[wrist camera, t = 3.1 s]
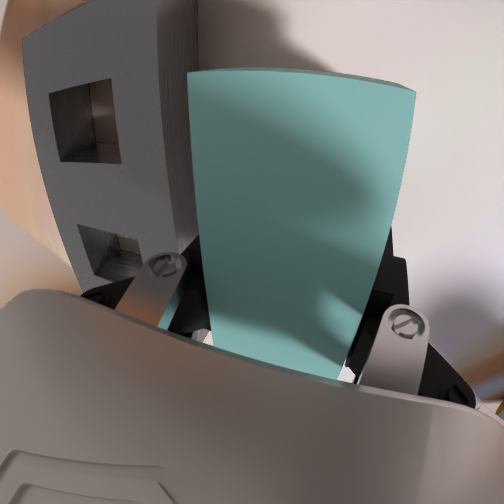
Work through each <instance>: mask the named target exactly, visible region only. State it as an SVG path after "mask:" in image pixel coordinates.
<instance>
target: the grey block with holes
mask: <svg viewBox="0 0 504 504" xmlns="http://www.w3.org/2000/svg"><path fill="white" fill-rule="evenodd" d="M22 45H23V63H24V75H25V85H26V94H27V102H28V109H29V115H30V121H31V127H32V132H33V137H34V142H35V147H36V152H37V156H38V161H39V165H40V169H41V173H42V177H43V181H44V184H45V188H46V192H47V195H48V199H49V202H50V205H51V208H52V212H53V215H54V218H55V221H56V224H57V227H58V230H59V233H60V236H61V239H62V241H63V244H64V247H65V249H66V252H67V255H68V257H69V260H70V262H71V265H72V268H73V270H74V272H75V275H76V277H77V280H78V282H79V284H80V287H81V289H82V291H83V293H84V292H86V291H87V290H89V289H92V288H95V287H98V286H102V285H106V284H109V283H113V282H117V281H120V280H124V279H128V278H131V277H135V276H136V275H137V273H138V272H139V270H140V269H141V267H142V266H143V264H144V263H145V262H146V261H147V260H148V259H149V258H150V257H152V256H154V255H156V254H159V253H164V252H174V253H179V254H181V253H182V252H183V251H184V250H185V249H186V248H187V247H188V245H189V244H190V243H191V242H192V241H193V240H194V239H195V238H196V237H197V235H198V234H199V228H198V218H197V208H196V198H195V187H194V175H193V163H192V150H191V136H190V120H189V102H188V81H187V73H188V72H196V71H198V46H197V0H93V1H91V2H89V3H86V4H84V5H82V6H80V7H78V8H76V9H74V10H72V11H70V12H68V13H66V14H64V15H62V16H60V17H58V18H57V19H55V20H53V21H51V22H49V23H48V24H46V25H44V26H42V27H41V28H39V29H37V30H36V31H34V32H33V33H31V34H29V35H28V36H26V37H25V38H23V39H22ZM109 78H111V81H112V92H113V102H114V111H115V120H116V128H117V135H118V142H119V144H96V139H95V132H94V126H93V119H92V111H91V103H90V94H89V85H88V83H91V82H95V81H100V80H105V79H109ZM116 234H120V235H124V236H128V237H132V238H136V239H137V241H138V245H139V249H140V253H141V256H139V255H135V254H132V253H128V252H125V251H121V250H120V247H119V243H118V240H117V236H116ZM209 331H210V330H206V329H201V330H199V333H198V337H197V340H196V341H199V342H203V341H204V339H205V337H206V336H207V334H208V332H209Z"/></svg>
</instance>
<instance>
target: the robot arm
mask: <svg viewBox="0 0 504 504" xmlns="http://www.w3.org/2000/svg"><path fill="white" fill-rule="evenodd" d="M201 329H206V330H210V331H211V324H210V317H209V310H208V303H207V295H206V288H205V280H204V272H203V264H202V255H201V246H200V237H199V234H198V235H197V237H196V238H195V239H194V240H193V241H192V242H191V243H190V244H189V245H188V247H187V248H186V249H185V250H184V251H183V252H182V253H181V254H179V253H174V252H164V253H159V254H156V255H154V256H152V257H150V258H149V259H148V260H147V261H146V262H145V263H144V264H143V266H142V267H141V269H140V270H139V272H138V273H137V275H136V276H135V277H131V278H128V279H124V280H120V281H117V282H113V283H109V284H106V285H102V286H98V287H95V288H92V289H89V290H87V291H86V292H84V293H83V294H82V295H81V296H78V295H75V294H72V293H68V292H64V291H60V290H54V289H30V290H26V291H23V292H21V293H20V294H18V295H17V296H15V297H14V298H13V299H12V300H10V301H9V302H8V303H7V304H6V305H5V306H4V307H2V308H1V310H0V504H504V420H502V419H501V418H500V417H499V416H497V415H496V414H495V413H493V412H492V411H491V410H490V409H488V408H487V407H486V406H485V405H483V404H481V405H480V406H478V405H477V404H476V399H475V395H474V393H473V391H472V389H471V388H470V386H469V385H468V384H467V383H466V382H465V381H464V380H463V378H462V377H461V376H460V375H459V374H458V373H457V372H456V371H455V370H454V369H453V368H452V367H451V366H450V365H449V363H448V362H447V361H446V360H445V359H444V358H443V357H442V356H441V355H440V354H439V353H438V352H437V351H436V350H435V349H434V348H433V347H432V346H431V345H430V344H429V343H428V340H429V333H430V325H429V322H428V320H427V318H426V317H425V316H424V314H423V313H421V312H420V311H419V310H418V309H416V308H414V307H412V306H409V291H408V278H407V266H406V260H405V259H404V258H400V257H395V256H393V243H392V229H391V227H390V231H389V234H388V238H387V242H386V245H385V249H384V252H383V255H382V259H381V262H380V265H379V269H378V272H377V275H376V278H375V281H374V284H373V287H372V290H371V293H370V296H369V299H368V302H367V305H366V308H365V310H364V313H363V316H362V319H361V321H360V324H359V327H358V329H357V332H356V334H355V337H354V340H353V342H352V345H351V347H350V350H349V352H348V355H347V358H346V363H345V367H349V368H350V369H351V370H352V372H353V373H354V374H355V377H354V379H353V381H352V383H348V382H344V381H339V380H334V379H330V378H326V377H321V376H317V375H313V374H309V373H305V372H301V371H297V370H293V369H289V368H286V367H282V366H278V365H274V364H271V363H267V362H264V361H260V360H257V359H253V358H250V357H246V356H243V355H240V354H236V353H233V352H230V351H227V350H224V349H220V348H217V347H214V346H211V345H208V344H205V343H202V342H199V341H196V340H197V337H198V333H199V330H201Z"/></svg>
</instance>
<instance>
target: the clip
mask: <svg viewBox="0 0 504 504" xmlns="http://www.w3.org/2000/svg"><path fill="white" fill-rule="evenodd" d="M187 81H188V102H189V120H190V136H191V150H192V163H193V175H194V187H195V198H196V208H197V218H198V228H199V237H200V246H201V255H202V264H203V272H204V280H205V288H206V295H207V303H208V310H209V317H210V324H211V331H212V338H213V344H214V347H217V348H220V349H224V350H227V351H230V352H233V353H236V354H240V355H243V356H246V357H250V358H253V359H257V360H260V361H264V362H267V363H271V364H274V365H278V366H282V367H286V368H289V369H293V370H297V371H301V372H305V373H309V374H313V375H317V376H321V377H326V378H330V379H334V380H337V378H338V376H339V373H340V371H341V369H342V366H343V364H344V362H345V359H346V357H347V355H348V352H349V350H350V347H351V345H352V342H353V340H354V337H355V334H356V332H357V329H358V327H359V324H360V321H361V319H362V316H363V313H364V310H365V308H366V305H367V302H368V299H369V296H370V293H371V290H372V287H373V284H374V281H375V278H376V275H377V272H378V269H379V265H380V262H381V259H382V255H383V252H384V249H385V245H386V242H387V238H388V234H389V231H390V227H391V223H392V219H393V215H394V211H395V207H396V203H397V199H398V195H399V190H400V186H401V181H402V177H403V172H404V167H405V162H406V157H407V151H408V146H409V140H410V134H411V128H412V121H413V114H414V107H415V99H416V92H415V91H413V90H411V89H409V88H407V87H405V86H402V85H400V84H398V83H394V82H389V81H384V80H379V79H374V78H368V77H362V76H356V75H350V74H342V73H335V72H326V71H317V70H306V69H293V68H274V67H236V68H224V69H213V70H204V71H196V72H188V73H187Z"/></svg>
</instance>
